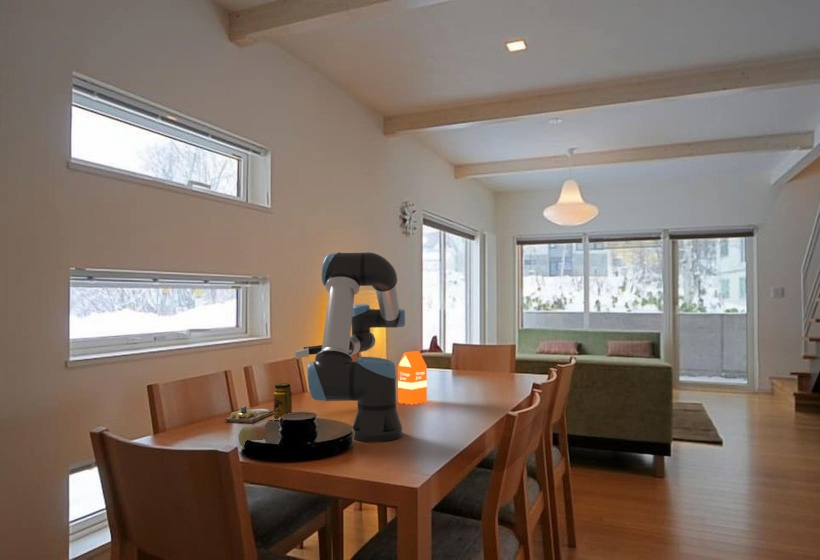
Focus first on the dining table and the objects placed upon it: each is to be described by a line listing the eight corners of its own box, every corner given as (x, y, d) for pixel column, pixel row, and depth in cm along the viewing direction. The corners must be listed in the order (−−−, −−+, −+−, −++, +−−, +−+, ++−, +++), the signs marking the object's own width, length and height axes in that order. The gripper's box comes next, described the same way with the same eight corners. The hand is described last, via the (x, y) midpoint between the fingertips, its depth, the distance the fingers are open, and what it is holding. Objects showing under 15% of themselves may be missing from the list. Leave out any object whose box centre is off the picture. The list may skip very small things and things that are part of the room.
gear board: (252, 423, 182) (251, 419, 182) (225, 422, 185) (225, 417, 185) (274, 413, 198) (274, 409, 198) (249, 412, 200) (249, 408, 200)
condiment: (268, 420, 187) (268, 385, 187) (283, 415, 195) (282, 381, 195) (286, 421, 184) (286, 386, 184) (300, 416, 192) (300, 382, 192)
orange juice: (427, 401, 217) (426, 351, 217) (412, 405, 210) (411, 353, 211) (413, 399, 222) (412, 350, 223) (397, 402, 216) (397, 352, 216)
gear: (248, 419, 183) (248, 409, 183) (225, 418, 185) (225, 409, 185) (261, 414, 191) (261, 404, 191) (239, 413, 193) (239, 404, 193)
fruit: (243, 454, 146) (243, 424, 146) (235, 448, 152) (235, 419, 153) (271, 449, 150) (271, 420, 151) (262, 443, 157) (262, 415, 157)
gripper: (371, 359, 211) (336, 371, 193) (322, 352, 224) (285, 363, 206) (371, 340, 210) (335, 350, 192) (322, 334, 223) (284, 343, 205)
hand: (309, 357), depth 199 cm, fingers open, 13 cm apart
